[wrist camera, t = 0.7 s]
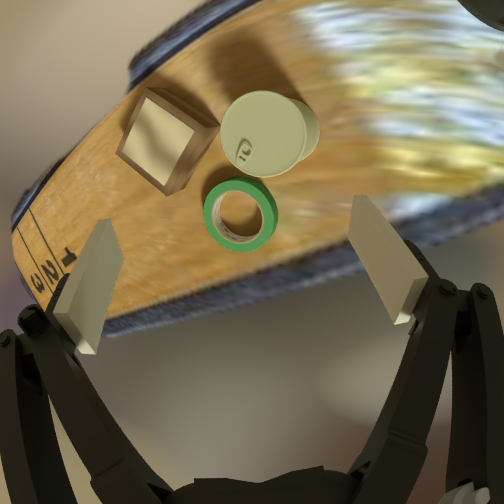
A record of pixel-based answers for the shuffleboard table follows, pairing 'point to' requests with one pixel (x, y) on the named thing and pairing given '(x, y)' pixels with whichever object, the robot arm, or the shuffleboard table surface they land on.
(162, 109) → the plinth
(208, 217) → the tape roll
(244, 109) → the can
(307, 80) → the shuffleboard table surface
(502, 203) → the shuffleboard table surface
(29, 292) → the shuffleboard table surface
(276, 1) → the shuffleboard table surface
